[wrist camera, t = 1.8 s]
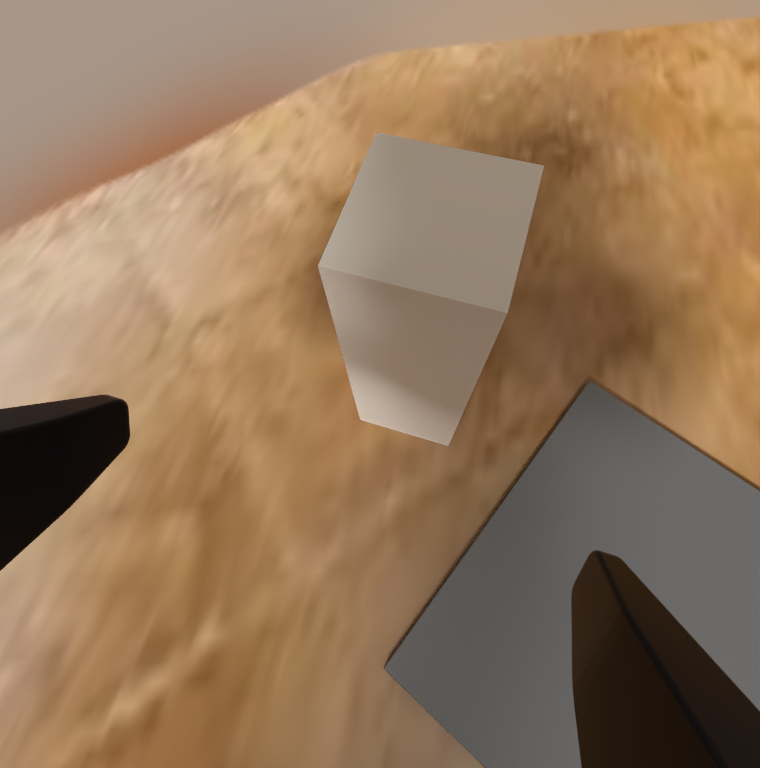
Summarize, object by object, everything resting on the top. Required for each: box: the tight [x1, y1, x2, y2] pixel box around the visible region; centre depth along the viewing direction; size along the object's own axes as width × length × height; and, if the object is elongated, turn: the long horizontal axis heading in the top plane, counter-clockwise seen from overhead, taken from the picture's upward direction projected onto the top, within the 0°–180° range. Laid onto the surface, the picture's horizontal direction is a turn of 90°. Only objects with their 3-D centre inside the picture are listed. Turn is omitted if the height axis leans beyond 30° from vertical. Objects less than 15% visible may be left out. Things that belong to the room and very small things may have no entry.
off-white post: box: [318, 133, 544, 446], centre depth 17 cm, size 4×4×12 cm
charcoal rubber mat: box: [384, 381, 760, 768], centre depth 18 cm, size 16×16×1 cm
